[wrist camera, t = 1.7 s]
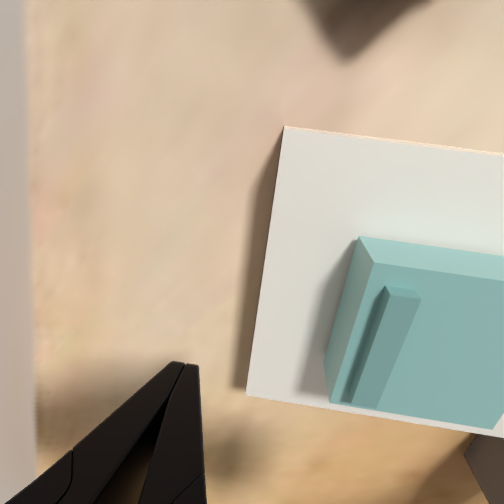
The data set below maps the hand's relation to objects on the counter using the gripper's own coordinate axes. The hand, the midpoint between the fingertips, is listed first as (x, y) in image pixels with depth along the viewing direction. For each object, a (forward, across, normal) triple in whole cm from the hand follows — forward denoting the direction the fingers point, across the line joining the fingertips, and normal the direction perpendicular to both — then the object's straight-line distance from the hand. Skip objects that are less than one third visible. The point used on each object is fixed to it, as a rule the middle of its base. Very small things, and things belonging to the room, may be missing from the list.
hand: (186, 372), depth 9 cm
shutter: (+5, -9, 0) cm, 10 cm away
